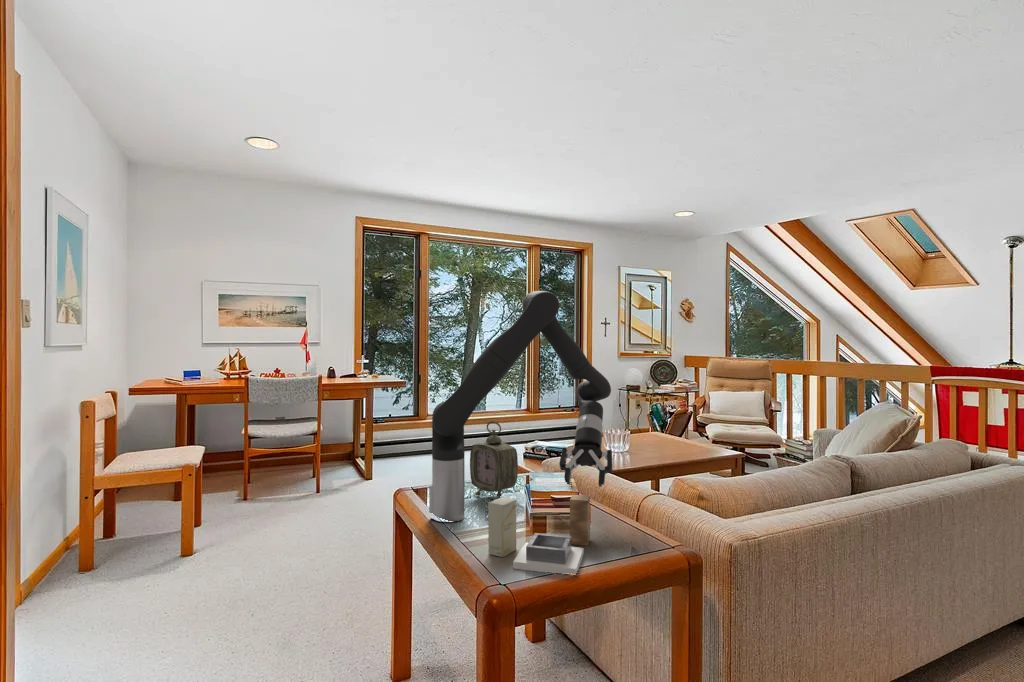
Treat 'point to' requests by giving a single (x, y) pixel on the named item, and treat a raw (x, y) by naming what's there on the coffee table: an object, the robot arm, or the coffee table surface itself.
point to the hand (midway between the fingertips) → (583, 483)
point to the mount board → (549, 554)
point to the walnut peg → (580, 519)
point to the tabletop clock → (493, 464)
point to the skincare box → (502, 526)
